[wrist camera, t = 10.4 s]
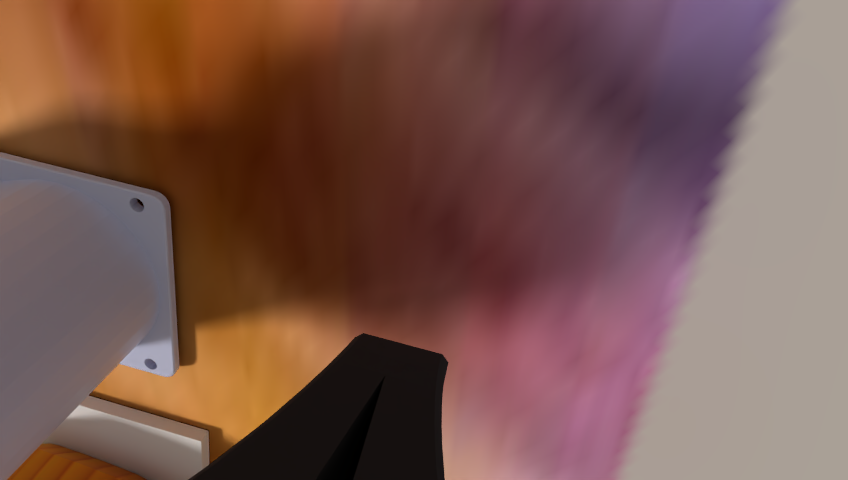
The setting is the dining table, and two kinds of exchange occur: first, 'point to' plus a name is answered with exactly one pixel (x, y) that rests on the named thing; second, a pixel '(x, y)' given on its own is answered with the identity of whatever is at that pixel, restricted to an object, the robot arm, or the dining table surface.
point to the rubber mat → (134, 440)
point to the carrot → (68, 466)
